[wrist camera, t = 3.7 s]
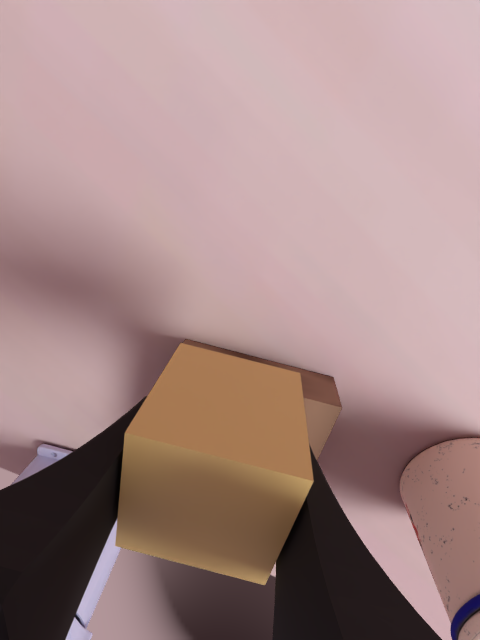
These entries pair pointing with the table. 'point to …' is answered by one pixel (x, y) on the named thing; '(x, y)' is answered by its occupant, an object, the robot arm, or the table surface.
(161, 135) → the table surface
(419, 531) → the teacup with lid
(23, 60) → the table surface
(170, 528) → the ochre block
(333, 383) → the walnut base
